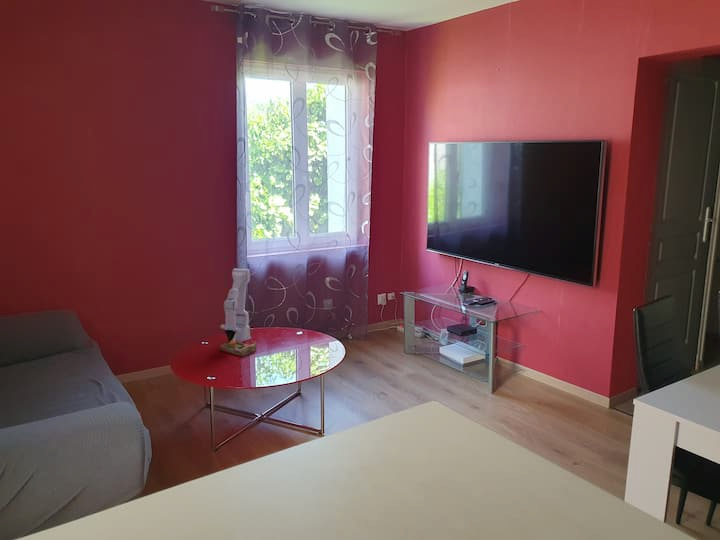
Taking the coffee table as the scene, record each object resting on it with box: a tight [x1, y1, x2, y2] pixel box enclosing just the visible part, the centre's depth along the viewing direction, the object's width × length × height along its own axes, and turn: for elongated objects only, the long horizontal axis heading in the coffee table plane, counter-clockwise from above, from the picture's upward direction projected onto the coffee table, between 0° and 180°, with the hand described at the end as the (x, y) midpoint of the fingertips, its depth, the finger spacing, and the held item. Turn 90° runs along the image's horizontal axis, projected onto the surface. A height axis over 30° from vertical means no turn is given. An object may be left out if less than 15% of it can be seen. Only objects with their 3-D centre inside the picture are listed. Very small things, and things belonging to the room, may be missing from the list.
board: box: [219, 341, 257, 357], centre depth 326 cm, size 11×18×4 cm, turn 58°
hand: (230, 342), depth 329 cm, fingers closed, pressing on ball
